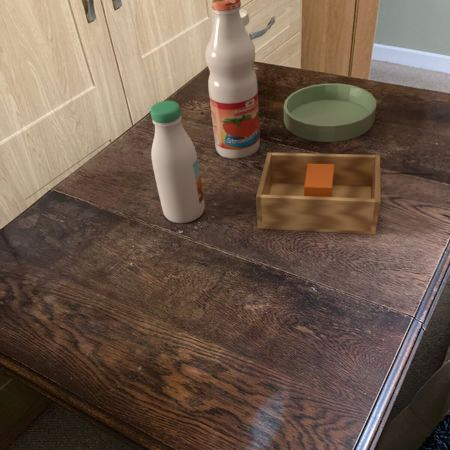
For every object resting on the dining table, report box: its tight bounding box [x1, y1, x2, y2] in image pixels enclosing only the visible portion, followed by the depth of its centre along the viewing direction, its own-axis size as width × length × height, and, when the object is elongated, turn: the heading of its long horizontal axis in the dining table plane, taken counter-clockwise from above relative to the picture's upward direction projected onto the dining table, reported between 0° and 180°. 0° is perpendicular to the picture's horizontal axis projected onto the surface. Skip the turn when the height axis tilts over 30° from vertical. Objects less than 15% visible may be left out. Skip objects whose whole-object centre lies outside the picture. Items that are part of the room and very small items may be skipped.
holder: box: [255, 151, 382, 236], centre depth 85 cm, size 20×14×7 cm
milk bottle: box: [150, 100, 206, 224], centre depth 83 cm, size 8×8×20 cm
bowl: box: [283, 82, 377, 143], centre depth 106 cm, size 19×19×4 cm
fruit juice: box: [204, 0, 261, 159], centre depth 93 cm, size 9×9×28 cm
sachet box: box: [304, 164, 334, 197], centre depth 85 cm, size 4×7×6 cm, turn 169°
